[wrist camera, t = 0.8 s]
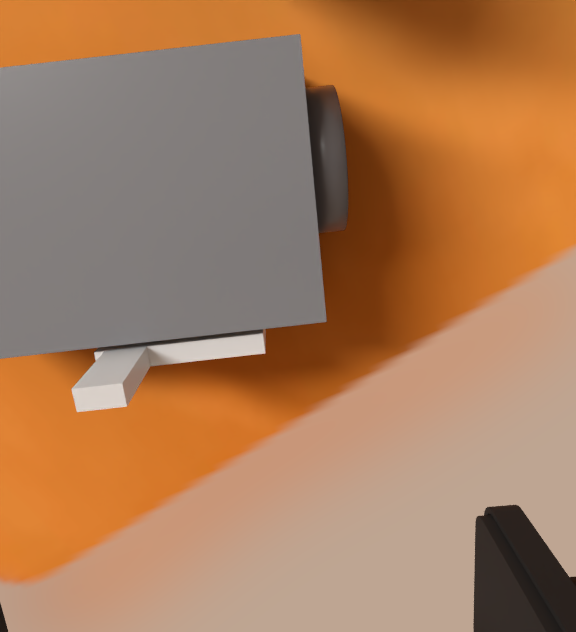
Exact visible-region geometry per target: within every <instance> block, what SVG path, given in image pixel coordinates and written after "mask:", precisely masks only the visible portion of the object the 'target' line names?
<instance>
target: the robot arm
mask: <svg viewBox="0 0 576 632" xmlns="http://www.w3.org/2000/svg"><path fill="white" fill-rule="evenodd" d="M475 535H476V536H475V582H474V583H475V584H474V586H475V587H474V632H576V577H569V576H568V575H567V573H566V572H565V571H564V569H563V568H562V566H561V565H560V563H559V562H558V561H557V559H556V558H555V556H554V555H553V553H552V552H551V551H550V549H549V548H548V546H547V545H546V543H545V542H544V541H543V539H542V538H541V536H540V535H539V533H538V532H537V531H536V529H535V528H534V526H533V525H532V524H531V522H530V521H529V519H528V518H527V517H526V515H525V514H524V512H523V511H522V510H521V508H520V507H519V506H517V505H508V506H496V507H487V508H486V510H485V513H484V516H478V517H477V518H476V532H475ZM0 632H8V629H7V626H6V622H5V618H4V615H3V611H2V608H1V604H0Z"/></svg>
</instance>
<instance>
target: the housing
mask: <svg viewBox="0 0 576 632" xmlns="http://www.w3.org/2000/svg"><path fill="white" fill-rule="evenodd" d="M347 217H348V174H347V159H346V147H345V137H344V129H343V122H342V115H341V109H340V104H339V100H338V96H337V92H336V89H335V87H334V86H333V85H327V86H318V87H309V88H305V80H304V69H303V59H302V48H301V37H300V34H298V35H289V36H280V37H271V38H262V39H253V40H244V41H235V42H226V43H217V44H208V45H200V46H191V47H182V48H173V49H164V50H155V51H146V52H137V53H128V54H119V55H110V56H101V57H92V58H83V59H75V60H66V61H57V62H48V63H39V64H30V65H21V66H12V67H3V68H0V359H1V358H10V357H19V356H28V355H37V354H46V353H55V352H63V351H72V350H81V349H90V348H99V347H108V346H117V345H126V344H135V343H144V342H152V341H161V340H170V339H179V338H188V337H197V336H206V335H215V334H224V333H233V332H241V331H250V330H259V329H268V328H277V327H286V326H295V325H304V324H313V323H322V322H327V320H326V309H325V298H324V287H323V276H322V265H321V254H320V244H319V233H325V232H333V231H342V230H345V228H346V225H347Z"/></svg>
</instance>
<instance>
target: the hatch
mask: <svg viewBox="0 0 576 632" xmlns="http://www.w3.org/2000/svg"><path fill="white" fill-rule="evenodd" d="M265 348H266V329H259V330H250V331H241V332H233V333H224V334H215V335H206V336H197V337H188V338H179V339H170V340H161V341H152V342H144V343H135V344H126V345H117V346H108V347H99V348H98V349H97V350H96V351H95V352H94V355H95V360H96V362H95V363H94V364H93V365H92V366H91V367H90V368H89V370H88V371H87V372H86V373H85V374H84V375H83V376H82V378H81V379H80V380H79V381H78V382H77V383H76V384H75V386H74V387H73V388H72V393H73V397H74V401H75V406H76V410H77V412H82V411H91V410H100V409H109V408H117V407H126V406H128V404H129V402H130V400H131V399H132V397H133V395H134V394H135V392H136V390H137V388H138V387H139V385H140V383H141V382H142V380H143V378H144V377H145V375H146V373H147V371H148V370H149V368H150V366H158V365H167V364H175V363H184V362H193V361H202V360H211V359H220V358H229V357H238V356H247V355H256V354H264V353H265Z"/></svg>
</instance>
